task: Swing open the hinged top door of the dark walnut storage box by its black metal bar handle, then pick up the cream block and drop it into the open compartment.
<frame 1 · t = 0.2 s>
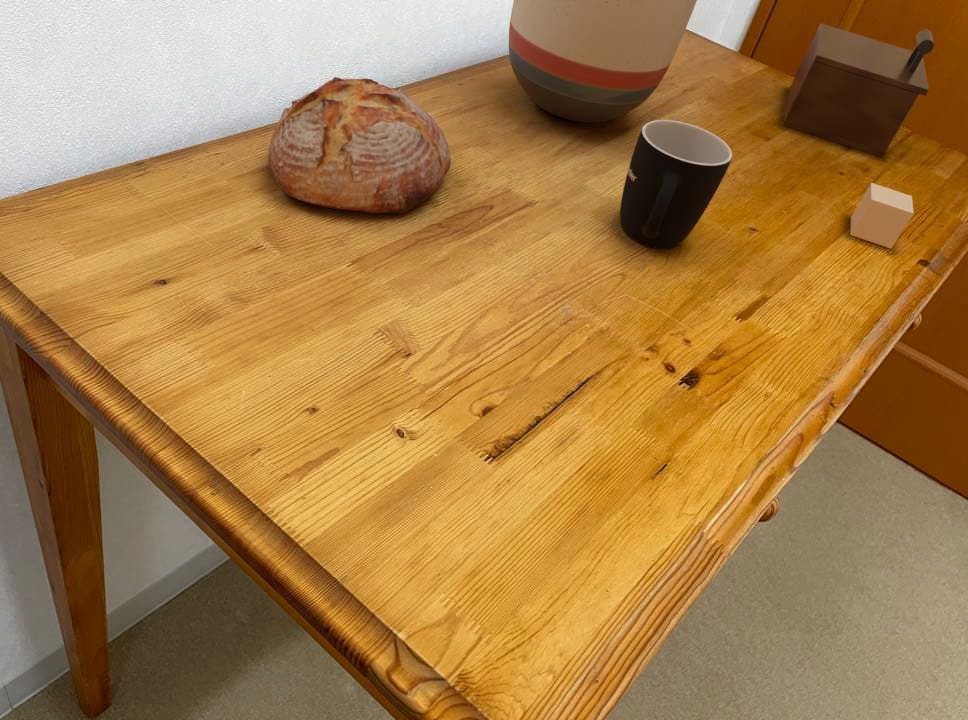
mug: (646, 240, 87), on the table
planter: (569, 111, 107), on the table
bread: (357, 177, 86), on the table
chest: (833, 121, 121), on the table
block: (870, 233, 97), on the table
lid: (878, 41, 113), point 11 cm above the table, hinge at 0.0°
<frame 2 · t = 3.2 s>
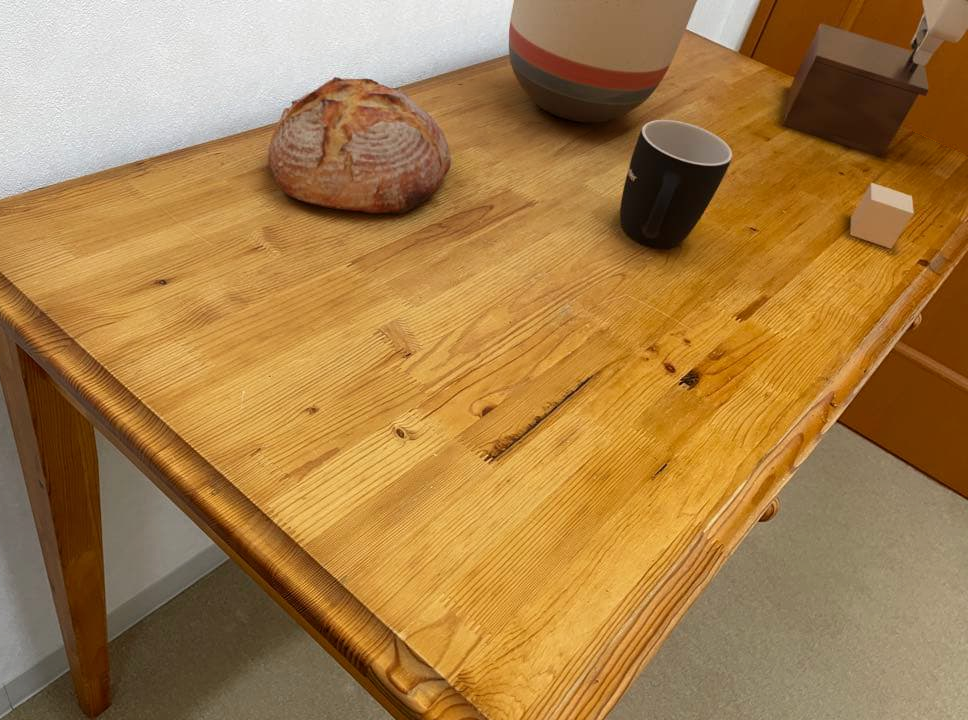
hand: (917, 55, 112), 11 cm above the table, tool pointing down, fingers closed on lid, 5 cm apart
lid: (878, 41, 113), point 11 cm above the table, hinge at 0.0°, touching gripper
everything else where it was.
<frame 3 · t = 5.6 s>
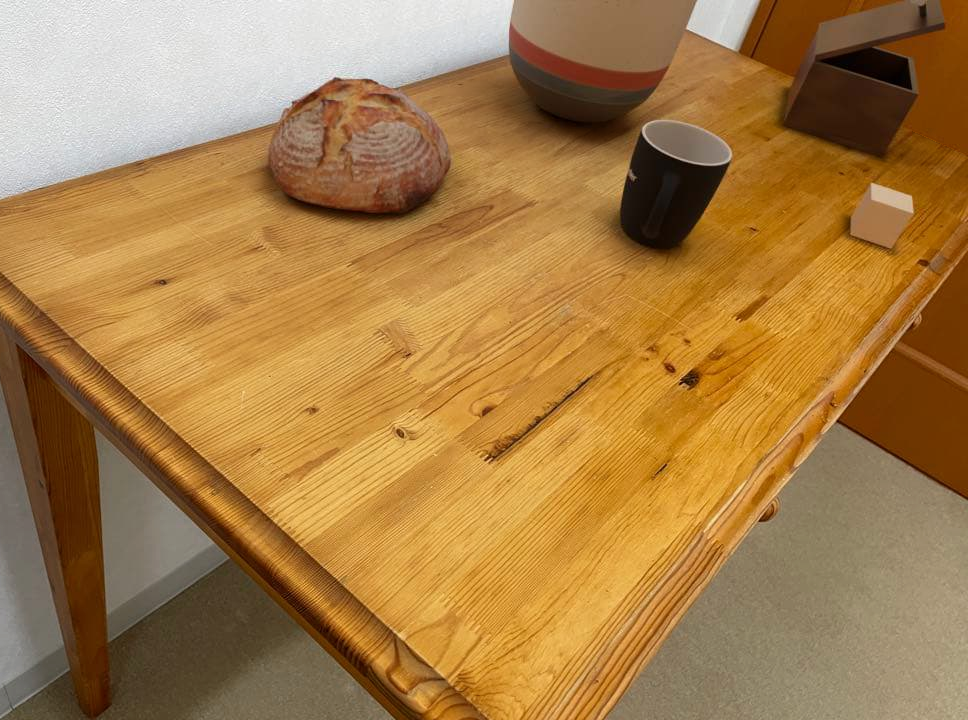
lid: (875, 9, 111), point 15 cm above the table, hinge at 32.4°, touching gripper
everything else where it was.
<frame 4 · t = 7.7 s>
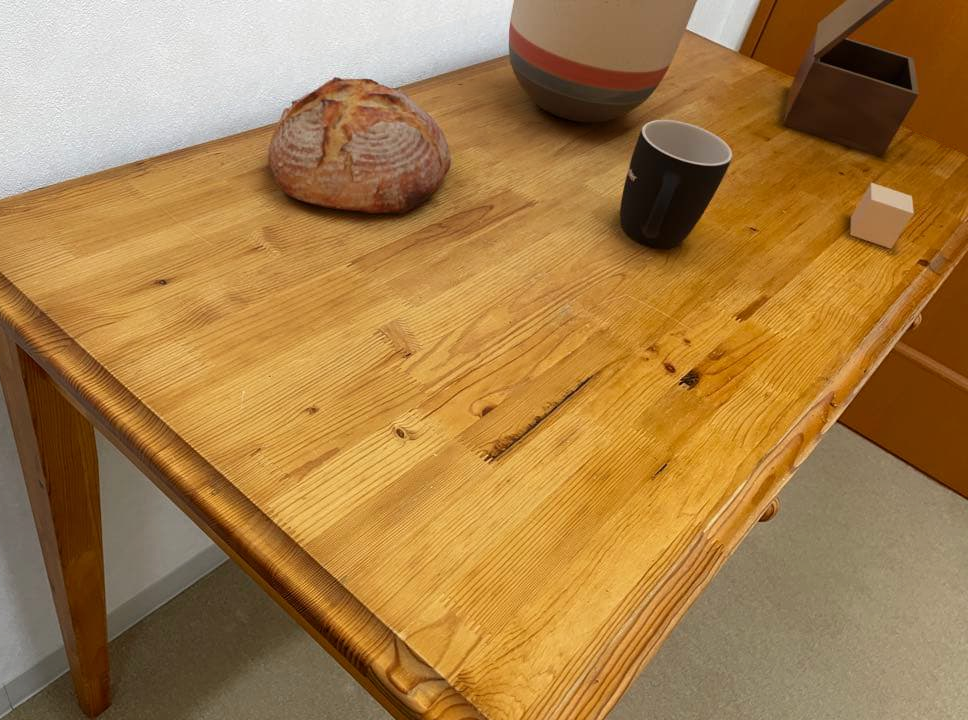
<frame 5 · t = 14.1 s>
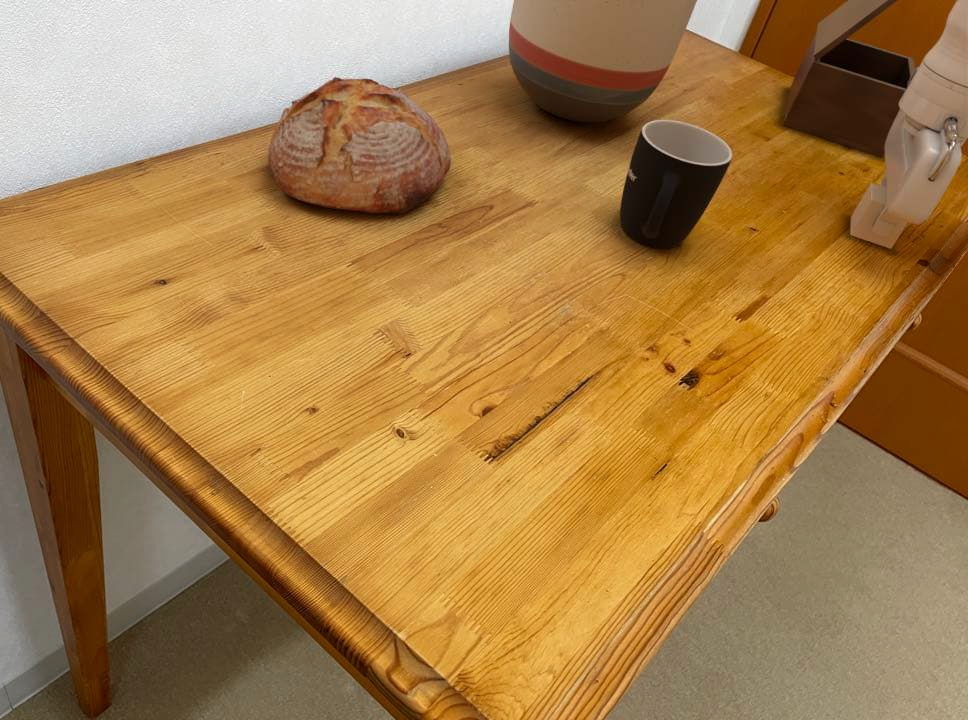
hand: (877, 220, 96), 2 cm above the table, tool pointing down, fingers closed on block, 4 cm apart
block: (870, 233, 97), on the table, touching gripper
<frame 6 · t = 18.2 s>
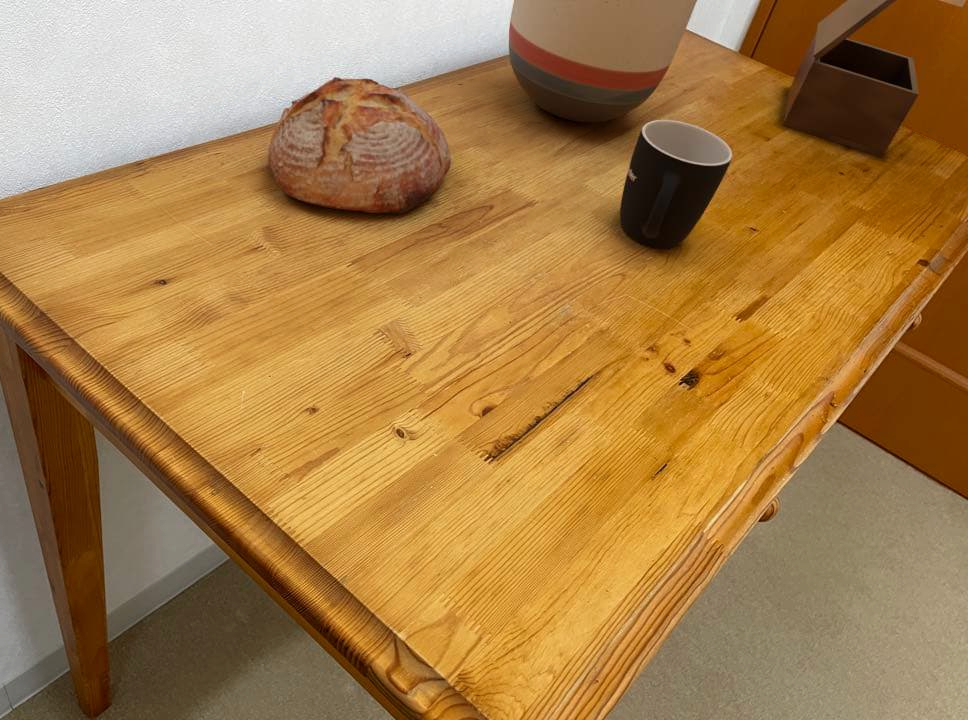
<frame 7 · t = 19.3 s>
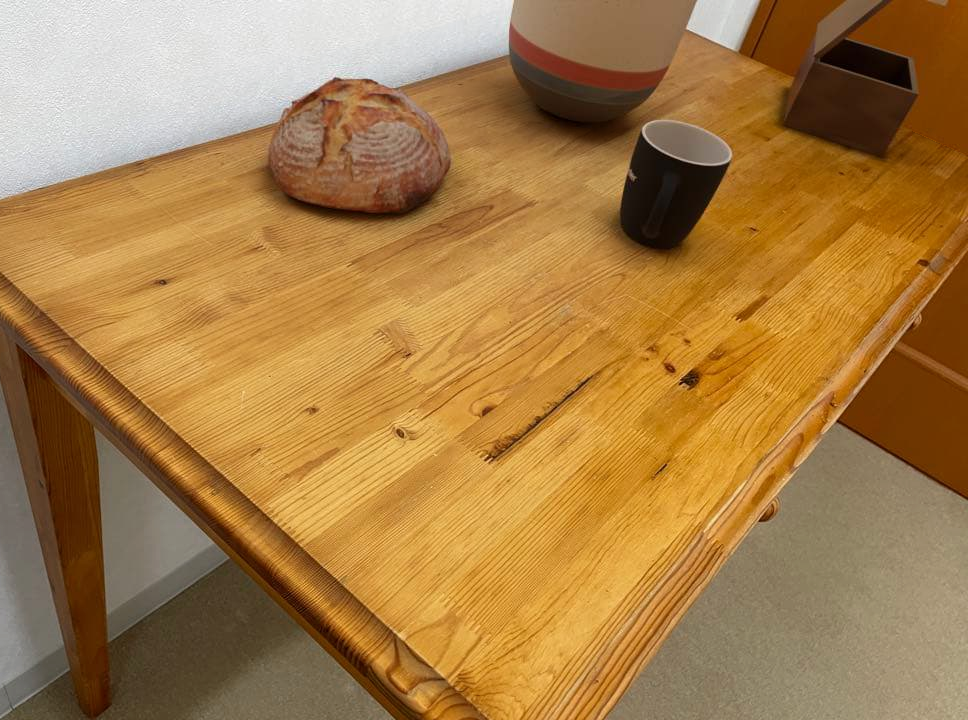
when the fingers open (11 cm above the table, at t = 22.1 s): block drops 8 cm, resting on chest.
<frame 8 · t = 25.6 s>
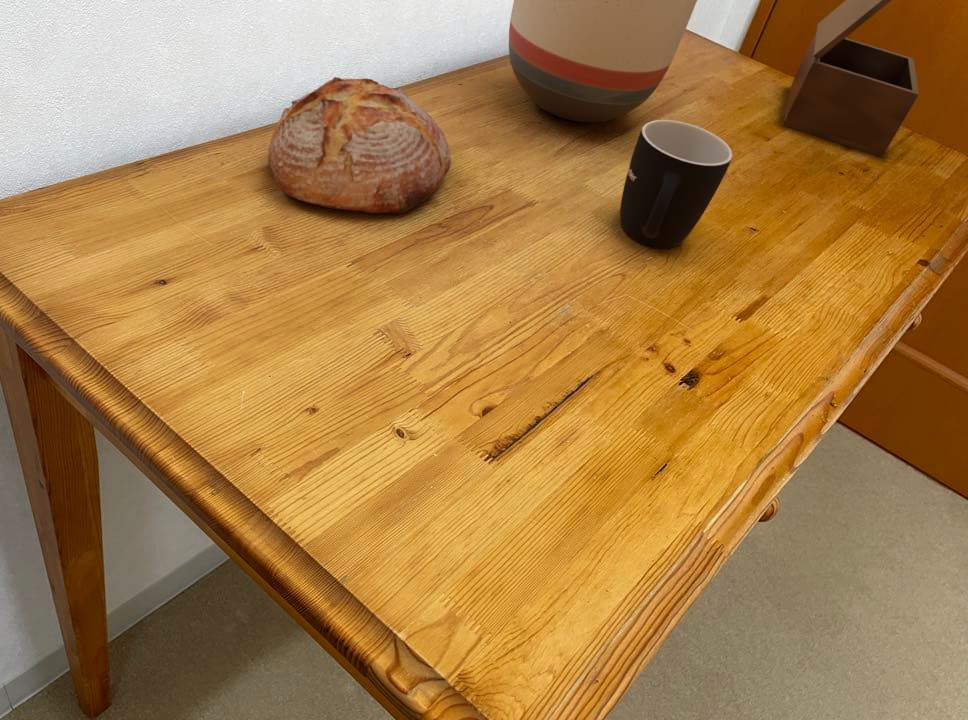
block: (853, 121, 120), point 1 cm above the table, touching chest
at the end: lid at +61° (first picture: +0°); block inside the target area in the chest (2.5 cm from its centre), point 0.8 cm above the chest's base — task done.
